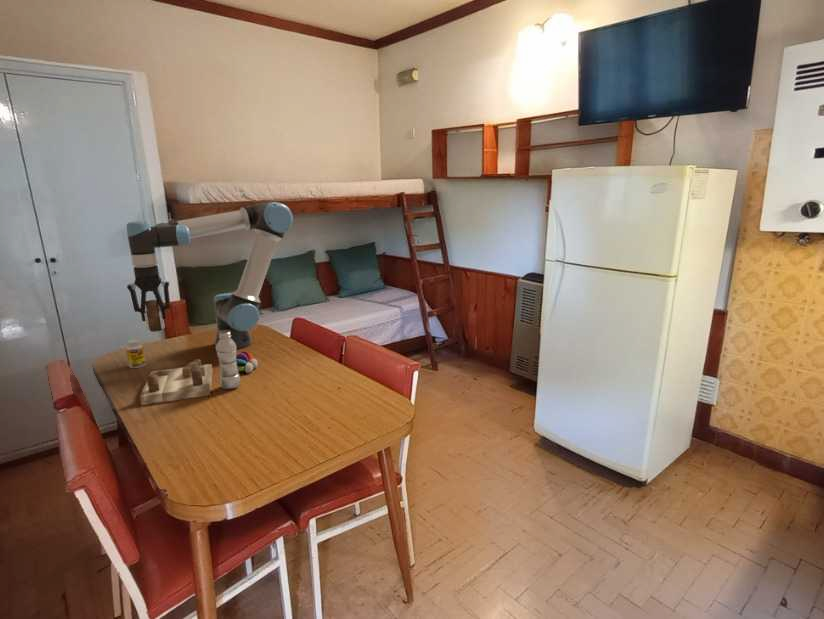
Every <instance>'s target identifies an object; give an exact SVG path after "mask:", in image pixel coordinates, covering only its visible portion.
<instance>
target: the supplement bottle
mask: <svg viewBox="0 0 824 619" xmlns="http://www.w3.org/2000/svg"><path fill="white" fill-rule="evenodd" d="M125 349H126V357H127V361H128V362H127V363H128V366H129V368H131V369H137V368H142V367H144V366H145V365H146V358H145V353H144V346H143V344H141V342H140V339H131V340H128V341H127V346H126V347H125Z"/></svg>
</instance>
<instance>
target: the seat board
mask: <svg viewBox="0 0 824 619" xmlns="http://www.w3.org/2000/svg"><path fill="white" fill-rule="evenodd" d="M184 367H185V366H184ZM184 367H177V368H176V367H175V368H169V369H161V370H155V371H154V370H153V371H150V373H149V375H147V376H146V382H145V385H144V387H143V389H142V391H141V394H140V396H139V400H140V404H141V406H145V405H152V403H153V404H158V403H165V402H170V401H171V402H172V401H178V400H179V401H180V400H185V399H191V398H199V397H205V396H210V395H211V389H212V380H213V366H212V363H209V364H207V363H206V364H201V365H200V366H199V369H193V370H191V374H192V376H190V377H183V372H182V368H184Z"/></svg>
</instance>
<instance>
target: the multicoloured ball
mask: <svg viewBox="0 0 824 619" xmlns="http://www.w3.org/2000/svg"><path fill="white" fill-rule="evenodd" d="M236 362H237V368H238V372H242V371H243V372H245V373H246V374H250V373H251V372H252V371H254V370H255V369H256V368H257V367H258V364H259V363H258V360H257V359H256V358H253V355H252V354H250V353H249V352H248V351H246V350H243V351H241V352H239V353H237V354H236Z"/></svg>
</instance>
